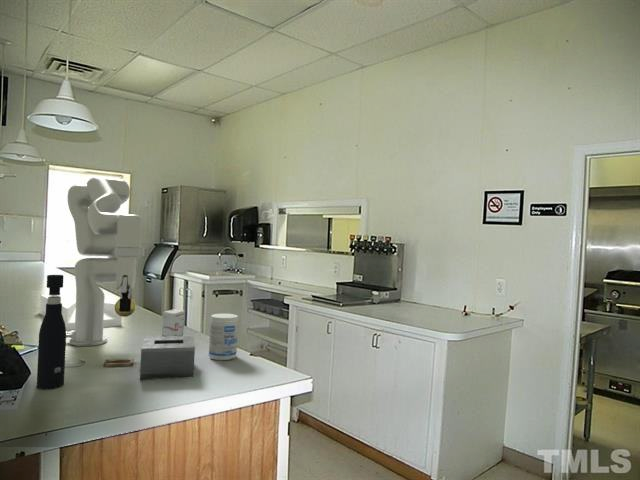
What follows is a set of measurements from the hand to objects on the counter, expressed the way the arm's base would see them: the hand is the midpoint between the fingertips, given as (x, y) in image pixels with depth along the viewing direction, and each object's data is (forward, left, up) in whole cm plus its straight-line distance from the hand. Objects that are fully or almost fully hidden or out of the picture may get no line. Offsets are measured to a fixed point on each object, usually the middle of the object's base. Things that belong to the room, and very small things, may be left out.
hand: (125, 310), depth 142 cm
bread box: (-27, +77, -18) cm, 84 cm away
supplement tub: (+32, +5, -18) cm, 37 cm away
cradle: (-1, +1, -17) cm, 18 cm away
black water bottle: (-16, -17, -18) cm, 29 cm away
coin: (-2, 0, -1) cm, 2 cm away
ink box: (+15, +31, -18) cm, 39 cm away
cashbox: (+14, -8, -17) cm, 24 cm away
